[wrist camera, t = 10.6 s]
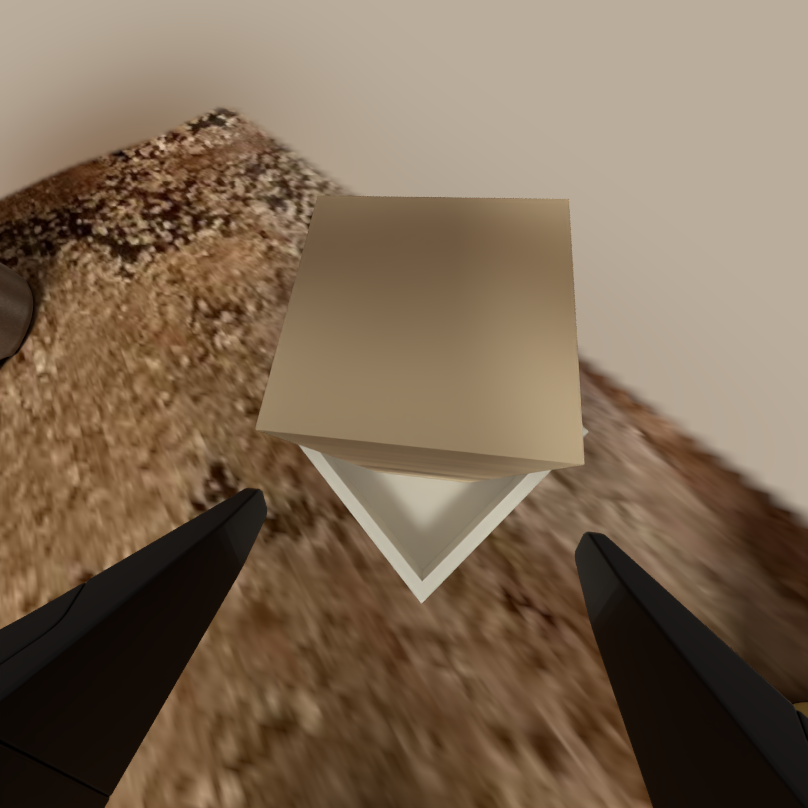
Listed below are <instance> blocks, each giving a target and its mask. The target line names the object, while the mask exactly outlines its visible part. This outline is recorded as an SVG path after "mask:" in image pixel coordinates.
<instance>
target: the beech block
mask: <svg viewBox="0 0 808 808" xmlns="http://www.w3.org/2000/svg"><path fill="white" fill-rule="evenodd" d="M255 430H258V431H261V432H263V433H266V434H269V435H272V436H275V437H278V438H281V439H284V440H286V441H289V442H292V443H295V444H298V445H301V446H304V447H307V448H309V449H312V450H315V451H318V452H321V453H324V454H327V455H329V456H332V457H335V458H338V459H341V460H344V461H347V462H350V463H352V464H355V465H358V466H361V467H364V468H367V469H370V470H373V471H375V472H379V473H388V474H396V475H405V476H413V477H422V478H430V479H439V480H447V481H456V482H464V483H470V482H477V481H483V480H490V479H496V478H503V477H509V476H515V475H522V474H528V473H535V472H541V471H548V470H554V469H560V468H567V467H573V466H580V465H584V449H583V432H582V415H581V398H580V380H579V363H578V346H577V331H576V312H575V295H574V278H573V262H572V244H571V227H570V211H569V199H522V198H521V199H519V198H515V199H514V198H445V197H373V196H317V200H316V204H315V207H314V211H313V215H312V219H311V222H310V226H309V230H308V234H307V237H306V241H305V245H304V249H303V252H302V256H301V260H300V264H299V267H298V271H297V275H296V279H295V282H294V286H293V290H292V293H291V297H290V301H289V305H288V308H287V312H286V316H285V320H284V323H283V327H282V331H281V335H280V338H279V342H278V346H277V350H276V353H275V357H274V361H273V365H272V368H271V372H270V376H269V379H268V383H267V387H266V391H265V394H264V398H263V402H262V406H261V409H260V413H259V417H258V421H257V424H256V428H255Z"/></svg>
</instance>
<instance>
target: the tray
mask: <svg viewBox="0 0 808 808" xmlns="http://www.w3.org/2000/svg"><path fill="white" fill-rule="evenodd" d="M582 432H583V437H584V436H585V435H586V434H587V433H588V432H589V431H588V430H586V429H585V428H584V427H583V426H582ZM299 446H300V448H301V449H302V450H303V451H304V453H305V454H306V455H307V457H308V458H309V459H310V460H311V462H312V463H313V464H314V466H315V467H316V468H317V469H318V471H319V472H320V473H321V475H322V476H323V477H324V479H325V480H326V481H327V482H328V484H329V485H330V486H331V488H332V489H333V490H334V491H335V493H336V494H337V495H338V497H339V498H340V499H341V500H342V502H343V503H344V504H345V506H346V507H347V508H348V509H349V511H350V512H351V513H352V515H353V516H354V517H355V519H356V520H357V521H358V522H359V524H360V525H361V526H362V528H363V529H364V530H365V531H366V533H367V534H368V535H369V537H370V538H371V539H372V540H373V542H374V543H375V544H376V546H377V547H378V548H379V550H380V551H381V552H382V553H383V555H384V556H385V557H386V559H387V560H388V561H389V562H390V564H391V565H392V566H393V568H394V569H395V570H396V571H397V573H398V574H399V575H400V577H401V578H402V579H403V580H404V582H405V583H406V584H407V586H408V587H409V588H410V590H411V591H412V592H413V593H414V595H415V596H416V597H417V599H418V600H419V601H420V602H421V604H422V603H423V602H424V601H425V600H426V599H427V597H428V596H429V595H430V594H431V593H432V592H433V591H434V590H435V589H436V588H437V587H438V586H439V585H440V584H441V583H442V582H443V581H444V580H445V579H446V578H447V577H448V576H449V575H450V574H451V573H452V572H453V571H454V570H455V569H456V568H457V567H458V566H459V565H460V564H461V563H462V561H463V560H464V559H465V558H466V557H467V556H468V555H469V554H470V553H471V552H472V551H473V550H474V549H475V548H476V547H477V546H478V545H479V544H480V543H481V542H482V541H483V540H484V539H485V538H486V537H487V536H488V535H489V534H490V533H491V532H492V531H493V530H494V529H495V528H496V526H497V525H498V524H499V523H500V522H501V521H502V520H503V519H504V518H505V517H506V516H507V515H508V514H509V513H510V512H511V511H512V510H513V509H514V508H515V507H516V506H517V505H518V504H519V503H520V502H521V501H522V500H523V499H524V498H525V497H526V496H527V495H528V494H529V493H530V492H531V490H532V489H533V488H534V487H535V486H536V485H537V484H538V483H539V482H540V481H541V480H542V479H543V478H544V477H545V476H546V475H547V474H548V473H549V472H550V471H551V470H548V471H541V472H535V473H528V474H522V475H515V476H509V477H503V478H496V479H490V480H483V481H477V482H470V483H464V482H456V481H447V480H439V479H430V478H422V477H413V476H405V475H396V474H388V473H379V472H375V471H373V470H370V469H367V468H364V467H361V466H358V465H355V464H352V463H350V462H347V461H344V460H341V459H338V458H335V457H332V456H329V455H327V454H324V453H321V452H318V451H315V450H312V449H309V448H307V447H304V446H301V445H299Z"/></svg>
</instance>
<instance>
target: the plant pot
mask: <svg viewBox="0 0 808 808" xmlns="http://www.w3.org/2000/svg"><path fill="white" fill-rule="evenodd" d="M32 311H33V297H32V293H31V290H30V288H29V285H28V284H27V282H26V281H25V279H24V278H22V277H21V276H19V275H18V274H17V273H15V272H14V271H13V270H11V269H10V268H9V267H7V266H6V265H4V264H2V263H0V360H1V359H3V358H5V357H9V356H12V355H14V353H15V352H16V350H17V349H18V348H19V346H20V344H21V342H22V340H23V338H24V336H25V334H26V332H27V329H28V327H29V325H30V322H31V316H32Z"/></svg>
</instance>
